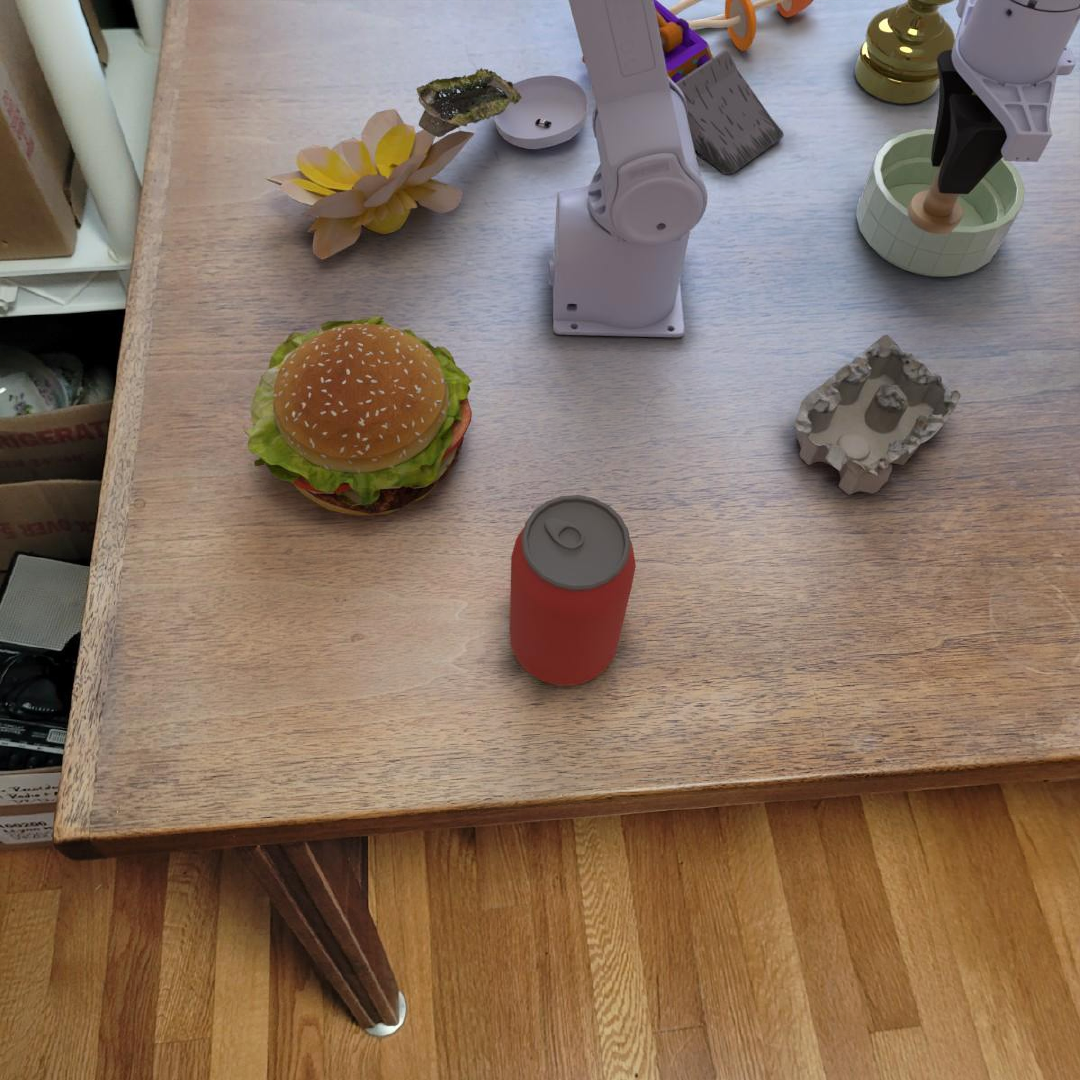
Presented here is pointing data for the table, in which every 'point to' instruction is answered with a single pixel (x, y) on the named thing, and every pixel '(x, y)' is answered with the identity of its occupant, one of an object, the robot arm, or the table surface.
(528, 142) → the shallow white dish
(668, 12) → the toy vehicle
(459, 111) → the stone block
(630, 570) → the beer can
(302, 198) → the decorative flower
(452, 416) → the food
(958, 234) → the bowl
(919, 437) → the egg carton
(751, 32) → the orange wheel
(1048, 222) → the table surface
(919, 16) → the brass candlestick
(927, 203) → the wooden pestle
